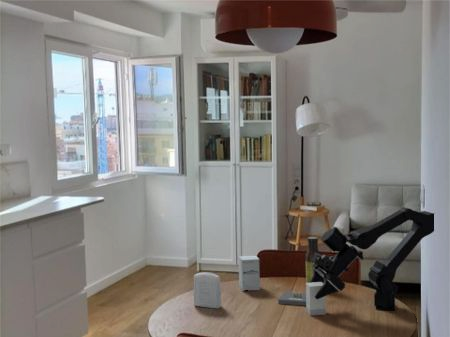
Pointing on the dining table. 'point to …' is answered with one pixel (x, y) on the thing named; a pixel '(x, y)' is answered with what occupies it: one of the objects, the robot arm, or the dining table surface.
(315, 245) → the sauce bottle
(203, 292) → the white arched block
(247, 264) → the supplement box
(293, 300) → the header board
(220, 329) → the dining table surface
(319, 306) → the white rectangular block
